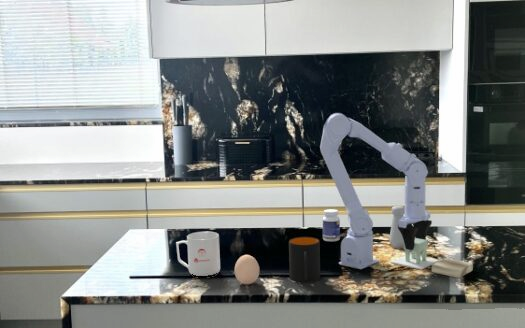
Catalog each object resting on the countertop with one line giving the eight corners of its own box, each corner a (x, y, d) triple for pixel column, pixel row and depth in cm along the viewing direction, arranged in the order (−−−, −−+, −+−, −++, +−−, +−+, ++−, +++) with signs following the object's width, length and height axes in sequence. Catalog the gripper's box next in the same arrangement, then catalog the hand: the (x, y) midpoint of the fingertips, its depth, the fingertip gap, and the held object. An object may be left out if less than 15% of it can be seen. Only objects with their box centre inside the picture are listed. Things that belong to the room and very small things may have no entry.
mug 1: (220, 267, 172) (219, 230, 171) (220, 277, 164) (218, 238, 162) (179, 270, 172) (177, 232, 170) (176, 280, 163) (174, 240, 162)
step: (459, 277, 157) (459, 270, 157) (431, 271, 162) (431, 264, 162) (472, 270, 163) (472, 263, 162) (445, 264, 168) (445, 257, 168)
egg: (231, 282, 160) (230, 253, 159) (254, 278, 163) (252, 250, 161) (240, 289, 154) (239, 260, 153) (263, 285, 157) (262, 256, 155)
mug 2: (290, 288, 154) (289, 249, 152) (289, 273, 166) (288, 237, 164) (322, 287, 154) (322, 248, 152) (319, 272, 166) (318, 236, 164)
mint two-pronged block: (419, 264, 168) (419, 243, 167) (403, 261, 171) (403, 241, 170) (428, 260, 171) (427, 239, 171) (412, 257, 175) (412, 237, 174)
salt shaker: (394, 243, 192) (394, 203, 190) (411, 245, 188) (411, 205, 186) (385, 247, 187) (385, 207, 185) (402, 250, 184) (402, 209, 182)
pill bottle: (340, 241, 196) (340, 212, 194) (323, 242, 196) (323, 212, 194) (338, 237, 201) (338, 208, 200) (322, 237, 201) (321, 208, 200)
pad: (421, 269, 165) (421, 268, 164) (390, 263, 171) (390, 261, 171) (439, 261, 172) (439, 259, 172) (408, 254, 179) (408, 253, 178)
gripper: (414, 207, 161) (414, 255, 163) (440, 198, 171) (439, 243, 173) (392, 203, 166) (392, 250, 168) (418, 195, 176) (418, 239, 178)
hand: (414, 247), depth 171 cm, fingers open, 5 cm apart
